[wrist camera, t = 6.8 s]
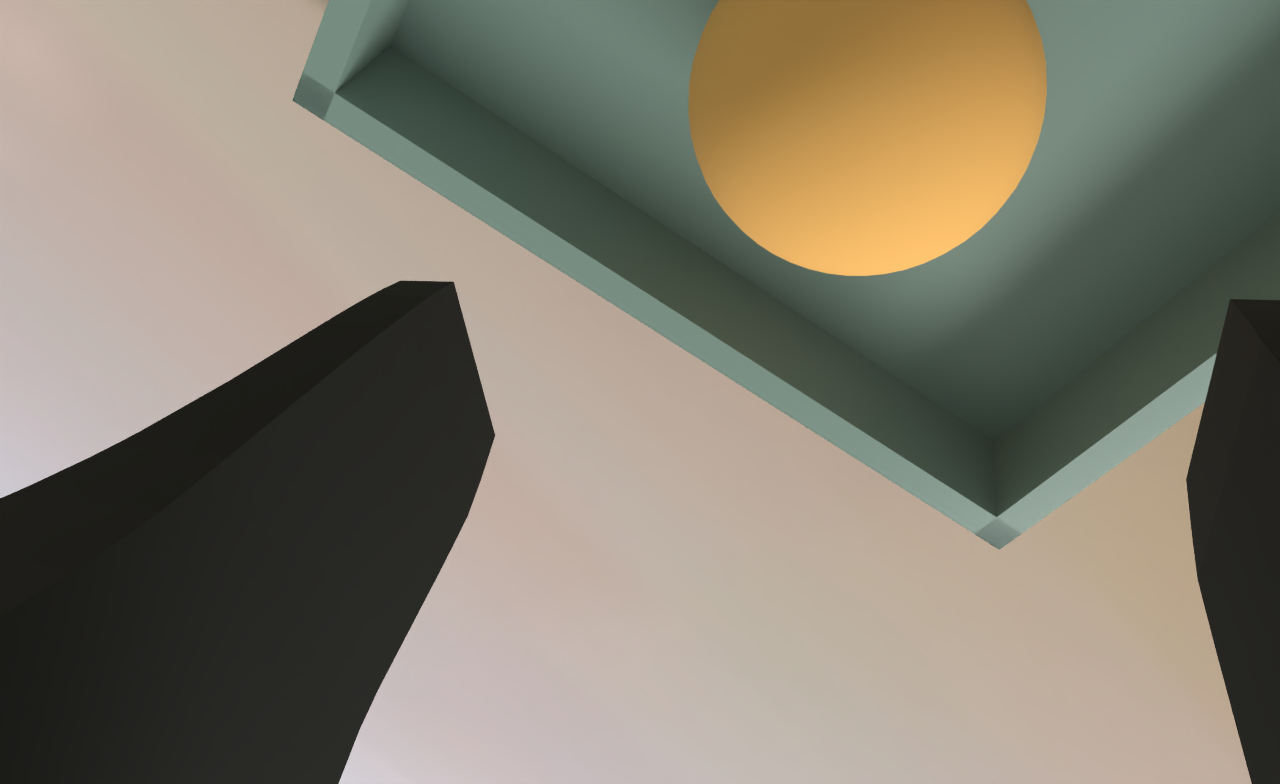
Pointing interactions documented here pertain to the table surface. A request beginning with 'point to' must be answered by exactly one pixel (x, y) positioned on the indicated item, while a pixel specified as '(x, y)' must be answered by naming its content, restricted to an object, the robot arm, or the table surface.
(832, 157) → the ball
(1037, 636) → the table surface
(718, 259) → the tray
